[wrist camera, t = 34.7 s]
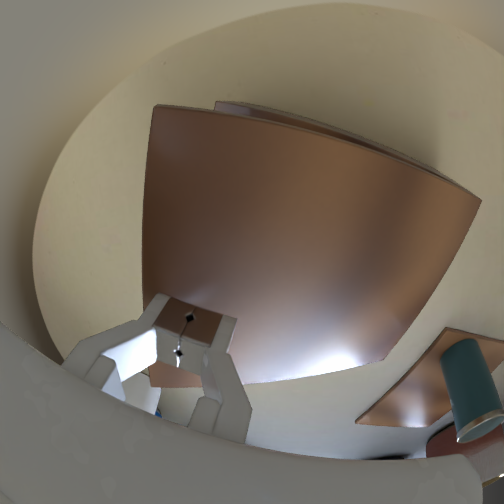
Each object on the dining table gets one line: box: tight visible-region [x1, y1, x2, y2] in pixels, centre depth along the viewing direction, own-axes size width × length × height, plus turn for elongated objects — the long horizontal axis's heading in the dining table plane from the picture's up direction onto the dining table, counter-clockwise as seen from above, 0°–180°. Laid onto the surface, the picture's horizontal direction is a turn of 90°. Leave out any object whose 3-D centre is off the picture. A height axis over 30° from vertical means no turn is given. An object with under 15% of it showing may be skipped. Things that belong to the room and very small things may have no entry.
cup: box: [121, 372, 161, 415], centre depth 35 cm, size 9×9×12 cm
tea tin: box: [440, 339, 504, 443], centre depth 20 cm, size 6×6×11 cm
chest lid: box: [142, 104, 482, 388], centre depth 13 cm, size 16×14×1 cm
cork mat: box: [355, 327, 504, 427], centre depth 29 cm, size 22×16×1 cm
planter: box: [426, 423, 504, 488], centre depth 29 cm, size 18×18×16 cm
